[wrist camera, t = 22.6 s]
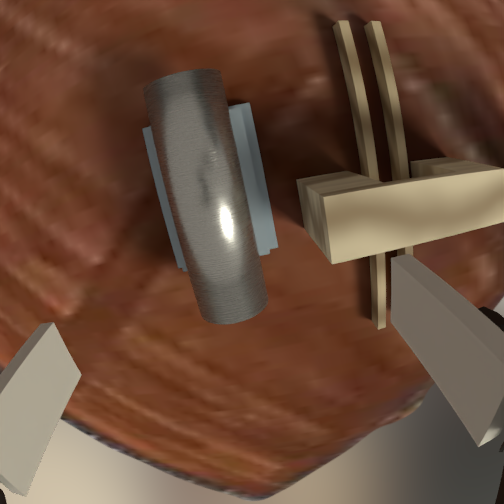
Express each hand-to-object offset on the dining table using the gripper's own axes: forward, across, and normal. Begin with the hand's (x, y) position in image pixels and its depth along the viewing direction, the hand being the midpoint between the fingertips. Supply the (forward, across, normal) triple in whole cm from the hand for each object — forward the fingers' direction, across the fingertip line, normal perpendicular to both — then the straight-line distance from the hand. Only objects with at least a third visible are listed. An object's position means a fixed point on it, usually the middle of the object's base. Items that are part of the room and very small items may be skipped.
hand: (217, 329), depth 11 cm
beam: (+21, +16, -1) cm, 27 cm away
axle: (+15, -1, +2) cm, 15 cm away
